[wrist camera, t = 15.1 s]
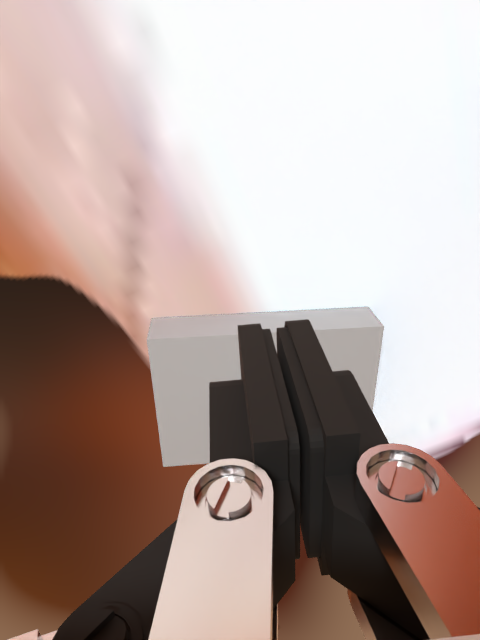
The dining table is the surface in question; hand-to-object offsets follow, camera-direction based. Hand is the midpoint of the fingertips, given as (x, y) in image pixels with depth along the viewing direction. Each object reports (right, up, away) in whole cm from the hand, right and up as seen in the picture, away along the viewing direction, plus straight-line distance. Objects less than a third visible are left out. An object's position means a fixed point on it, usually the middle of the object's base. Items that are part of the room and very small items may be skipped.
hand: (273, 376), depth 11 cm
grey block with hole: (+1, -4, +33) cm, 34 cm away
